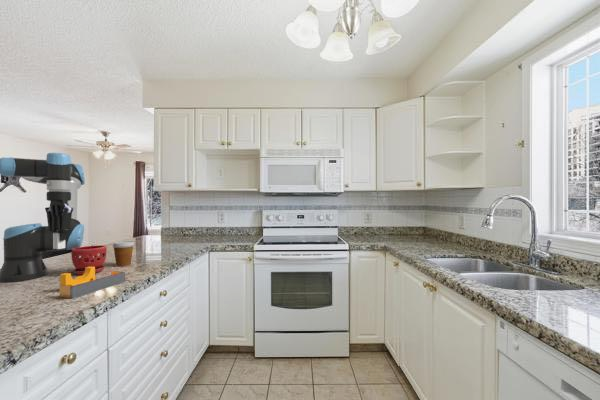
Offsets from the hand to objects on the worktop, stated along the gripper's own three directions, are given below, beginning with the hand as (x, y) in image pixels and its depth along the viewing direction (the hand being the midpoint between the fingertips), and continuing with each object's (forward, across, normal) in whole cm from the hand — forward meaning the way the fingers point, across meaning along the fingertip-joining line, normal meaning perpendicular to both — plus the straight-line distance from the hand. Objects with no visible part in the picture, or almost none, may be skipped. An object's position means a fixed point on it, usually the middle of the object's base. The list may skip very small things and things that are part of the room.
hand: (59, 248), depth 111 cm
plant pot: (+15, -6, +16) cm, 23 cm away
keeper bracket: (+14, +21, 0) cm, 25 cm away
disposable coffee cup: (+15, -3, +31) cm, 34 cm away
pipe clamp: (+15, +10, 0) cm, 18 cm away
